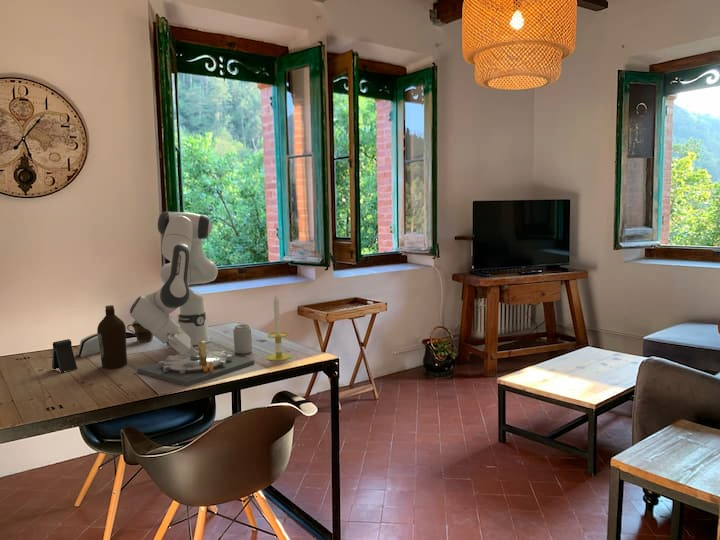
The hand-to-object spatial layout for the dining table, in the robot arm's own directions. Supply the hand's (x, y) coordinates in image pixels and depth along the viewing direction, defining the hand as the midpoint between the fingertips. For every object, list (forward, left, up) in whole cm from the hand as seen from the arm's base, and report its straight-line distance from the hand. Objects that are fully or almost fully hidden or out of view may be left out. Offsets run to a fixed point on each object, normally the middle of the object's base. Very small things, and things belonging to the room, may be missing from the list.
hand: (197, 354), depth 208 cm
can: (-11, +32, -8) cm, 34 cm away
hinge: (-70, -3, -8) cm, 71 cm away
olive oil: (-42, -10, -8) cm, 44 cm away
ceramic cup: (-71, +20, -8) cm, 74 cm away
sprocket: (-9, +6, -6) cm, 12 cm away
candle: (+9, +34, -8) cm, 36 cm away
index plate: (-9, +6, -8) cm, 13 cm away
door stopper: (-55, -24, -8) cm, 60 cm away
